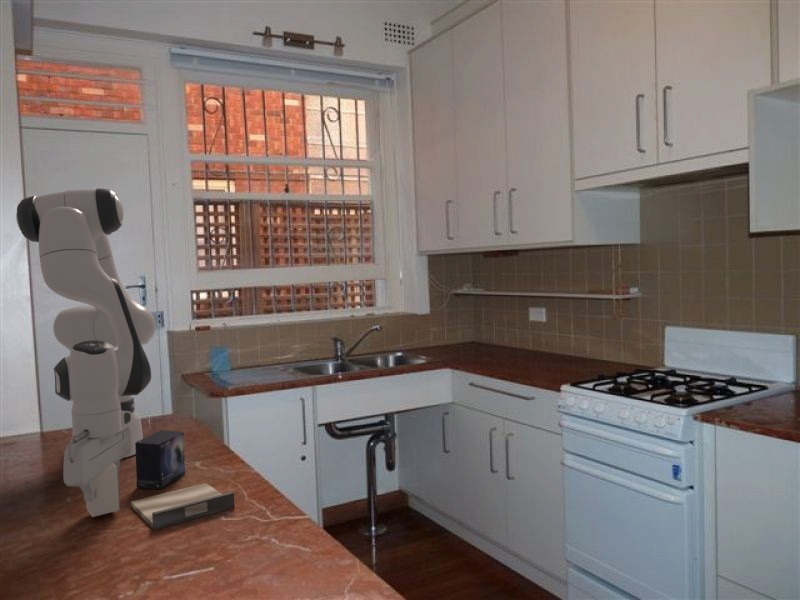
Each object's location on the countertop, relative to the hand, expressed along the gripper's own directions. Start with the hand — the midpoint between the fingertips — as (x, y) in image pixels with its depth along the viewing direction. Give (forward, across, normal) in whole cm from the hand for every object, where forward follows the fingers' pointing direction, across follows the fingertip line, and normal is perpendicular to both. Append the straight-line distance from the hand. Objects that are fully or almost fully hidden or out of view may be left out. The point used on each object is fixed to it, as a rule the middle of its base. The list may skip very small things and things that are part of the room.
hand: (101, 491), depth 127 cm
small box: (+5, +19, -4) cm, 20 cm away
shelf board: (+5, +4, -14) cm, 16 cm away
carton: (+4, 0, 0) cm, 4 cm away
